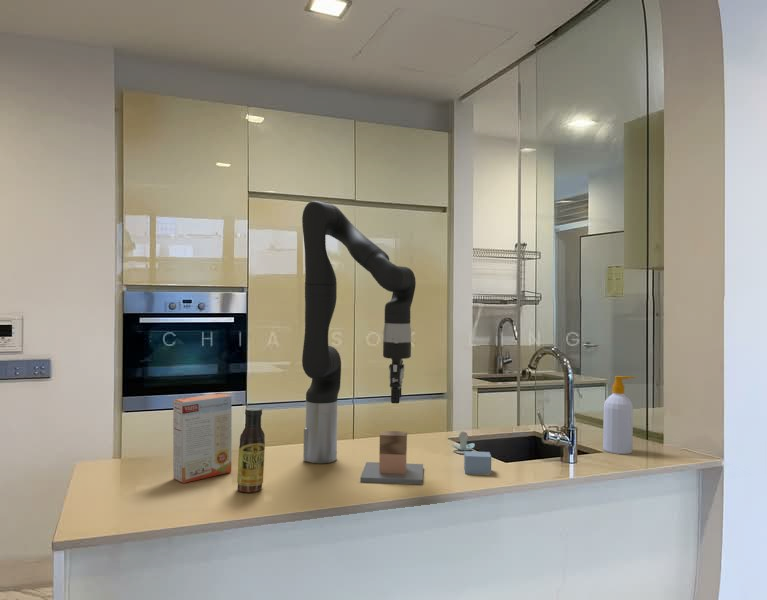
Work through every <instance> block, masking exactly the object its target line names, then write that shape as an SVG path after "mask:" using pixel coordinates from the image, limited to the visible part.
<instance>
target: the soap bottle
mask: <svg viewBox="0 0 767 600" xmlns="http://www.w3.org/2000/svg"><path fill="white" fill-rule="evenodd" d="M627 379H634V380H635V379H636V377H635V376H629V375H627V376H626V375H624V376H621V375H615V376H614V382H613V384H612V391H611V392H612V394H610V395H608V397H606V399H605V400H604V404H603V421H602V422H603V423H602V424H603V431H602V432H603V434H602V435H603V438H602V440H603V441H602V442H603V443H602V448H603V449H602V450H604V451H605V452H607V453H612V454H617V455H628V454H629V455H630V454H632V452H633V435H634V433H633V429H634V424H633V423H634V417H633V416H634V407H633V403H632V401H631V400H630V398H628V396H626V395H625V385H624V382H623V380H627Z"/></svg>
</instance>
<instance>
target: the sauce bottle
mask: <svg viewBox="0 0 767 600" xmlns="http://www.w3.org/2000/svg"><path fill="white" fill-rule="evenodd" d="M244 414H245V415H244V416H245V424H244V425H245V426H244V428H243V430H242V433H241V434H240V438H239V446H238V462H237V476H236V477H237V479H236V483H237V491H239V492H241V493H255V492H259V491H261V490H262V488H263V484H264V471H265V452H266V451H265V449H266V443H265V442H266V441H265V439H266V438H265V433H264V431H263V428H262V415H263V409H262V408H261V407H260V408H259V407H247V408H245V411H244Z"/></svg>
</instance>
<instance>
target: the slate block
mask: <svg viewBox="0 0 767 600" xmlns="http://www.w3.org/2000/svg"><path fill="white" fill-rule="evenodd" d="M463 457H464V458H463V459H464V460H463V470H464V473H465V475H478V474H489V475H488V476H491V475H492V455H491V452H490V451H475V452H471V451H464V454H463Z"/></svg>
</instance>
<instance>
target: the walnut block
mask: <svg viewBox="0 0 767 600" xmlns="http://www.w3.org/2000/svg"><path fill="white" fill-rule="evenodd" d="M407 448H408V432H407V431H400V430H398V431H397V430H381V431H380V434H379V455H380V454H396V455H406V451H407V452H408V449H407Z"/></svg>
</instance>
